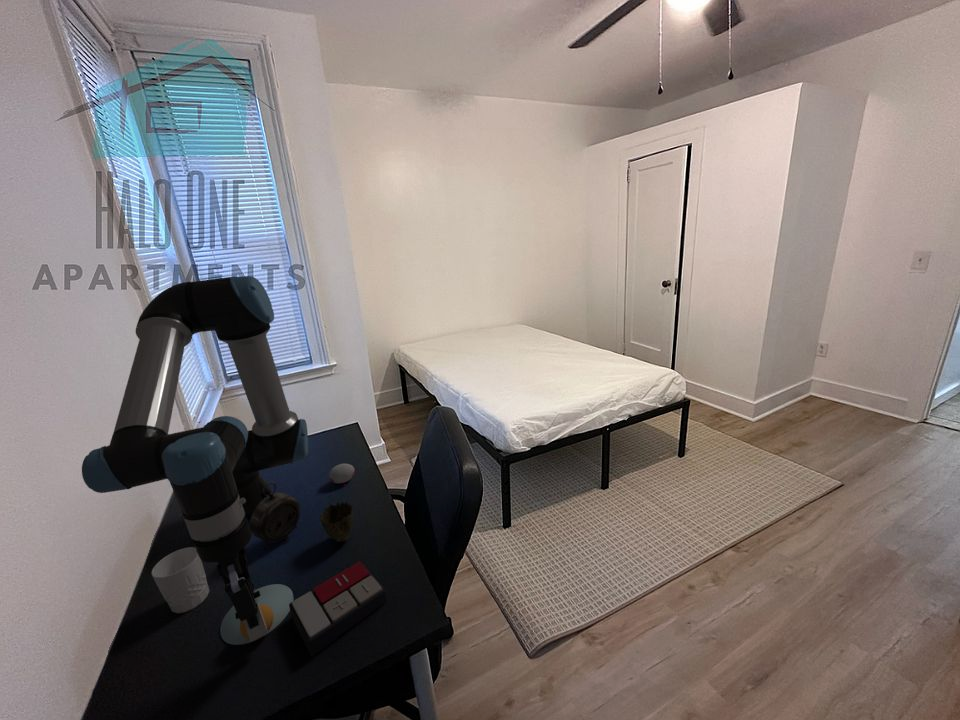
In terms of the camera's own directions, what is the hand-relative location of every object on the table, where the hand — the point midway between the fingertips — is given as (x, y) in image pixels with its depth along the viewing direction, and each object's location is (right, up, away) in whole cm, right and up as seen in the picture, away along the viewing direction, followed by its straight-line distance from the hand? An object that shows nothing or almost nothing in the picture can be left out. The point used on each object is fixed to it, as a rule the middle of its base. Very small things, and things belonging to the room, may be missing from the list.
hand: (258, 634), depth 70 cm
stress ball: (-3, +12, +51) cm, 52 cm away
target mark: (-5, -1, +8) cm, 9 cm away
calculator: (+12, 0, +7) cm, 14 cm away
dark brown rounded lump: (+6, +5, +26) cm, 27 cm away
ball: (-2, 0, +3) cm, 4 cm away
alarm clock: (-10, +4, +28) cm, 30 cm away
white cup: (-22, -2, +13) cm, 25 cm away
